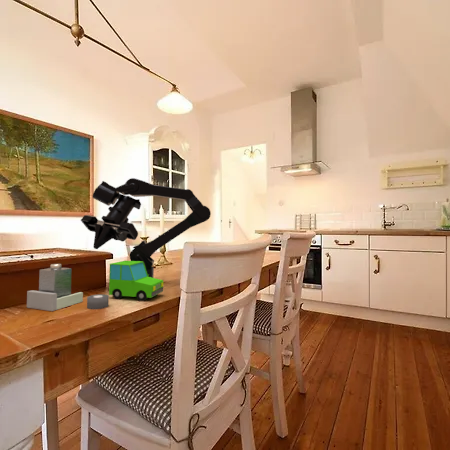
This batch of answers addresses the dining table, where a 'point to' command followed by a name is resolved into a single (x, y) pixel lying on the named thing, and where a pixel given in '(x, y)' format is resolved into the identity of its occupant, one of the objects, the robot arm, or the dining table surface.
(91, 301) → the spare wheel
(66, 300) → the bay
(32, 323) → the dining table surface
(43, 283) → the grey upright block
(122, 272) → the toy car
